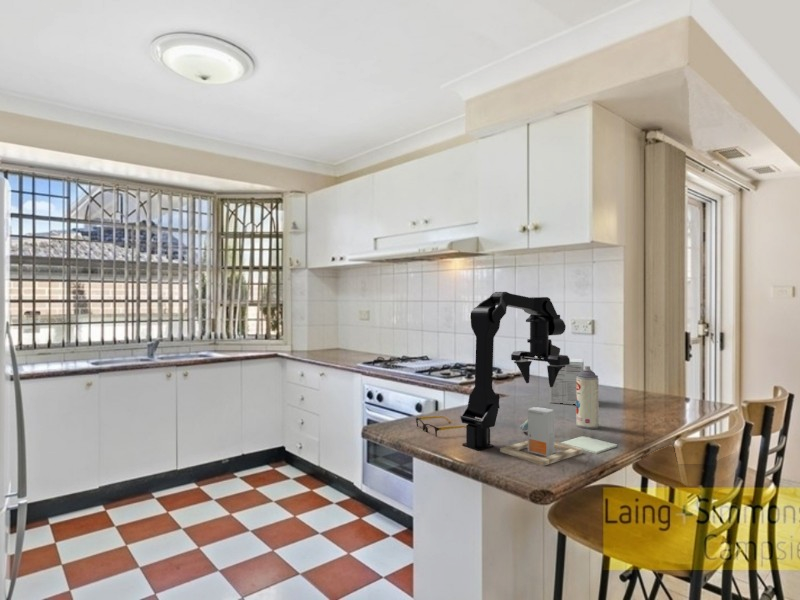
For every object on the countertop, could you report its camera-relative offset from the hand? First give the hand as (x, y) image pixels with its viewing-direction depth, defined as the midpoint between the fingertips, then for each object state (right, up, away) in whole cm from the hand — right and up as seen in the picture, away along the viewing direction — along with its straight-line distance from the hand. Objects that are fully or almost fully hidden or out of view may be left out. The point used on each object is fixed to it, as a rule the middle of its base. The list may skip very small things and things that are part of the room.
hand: (539, 385), depth 152 cm
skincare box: (-6, -15, -22) cm, 27 cm away
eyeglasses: (-31, -15, 0) cm, 34 cm away
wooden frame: (-6, -15, -22) cm, 27 cm away
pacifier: (-3, -16, -2) cm, 16 cm away
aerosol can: (+18, -15, +6) cm, 24 cm away
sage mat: (+10, -15, -15) cm, 23 cm away
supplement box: (+25, -16, +47) cm, 56 cm away
